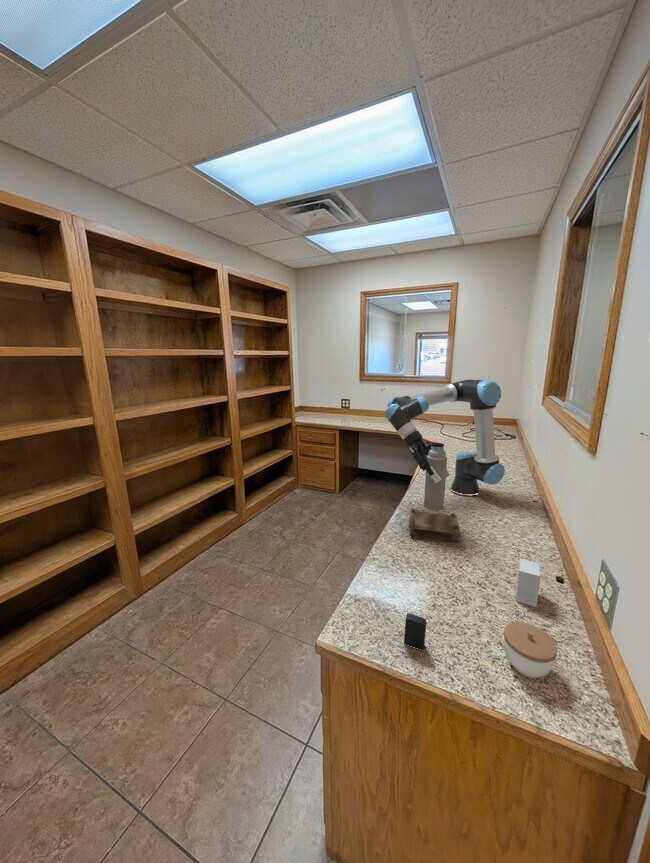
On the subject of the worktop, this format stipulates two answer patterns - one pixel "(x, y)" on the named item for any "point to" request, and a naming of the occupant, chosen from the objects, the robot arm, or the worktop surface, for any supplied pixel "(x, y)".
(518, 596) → the small box
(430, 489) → the thermos bottle
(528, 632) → the lidded jar
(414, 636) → the ink cartridge
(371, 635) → the worktop surface
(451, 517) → the peg shelf
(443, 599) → the worktop surface
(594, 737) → the worktop surface
